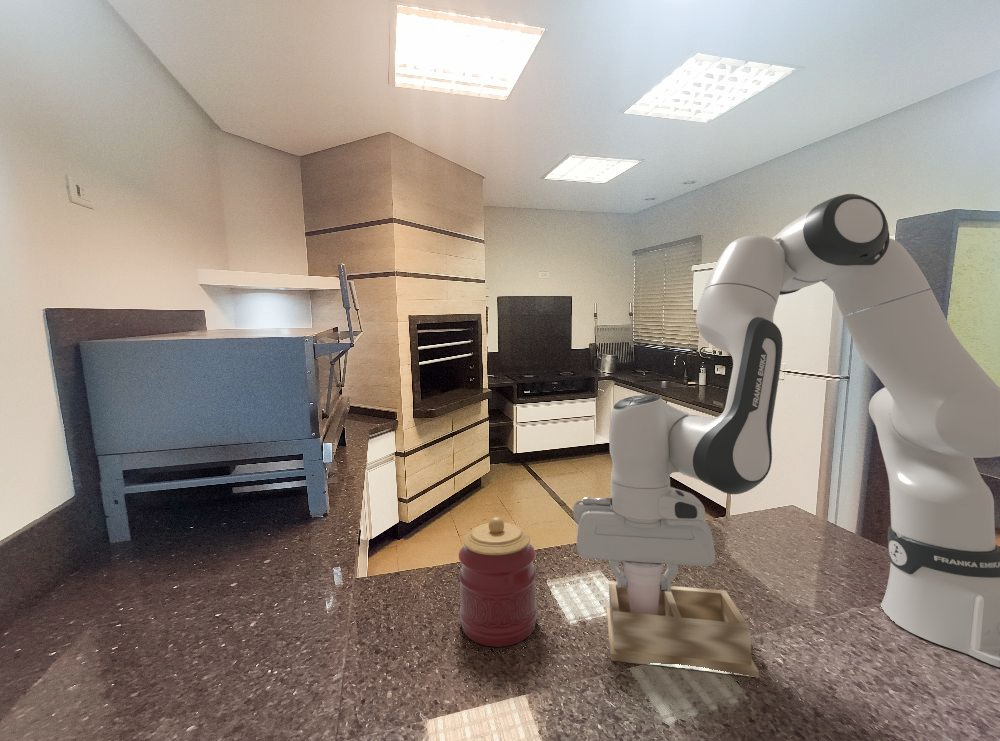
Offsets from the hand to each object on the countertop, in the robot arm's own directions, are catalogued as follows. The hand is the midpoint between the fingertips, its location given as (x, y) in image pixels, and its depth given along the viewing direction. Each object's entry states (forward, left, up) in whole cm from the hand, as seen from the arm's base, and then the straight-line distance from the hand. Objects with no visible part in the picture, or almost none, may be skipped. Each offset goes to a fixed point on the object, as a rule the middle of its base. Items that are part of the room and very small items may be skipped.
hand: (643, 587), depth 61 cm
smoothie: (0, 0, -5) cm, 5 cm away
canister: (+23, 0, -8) cm, 25 cm away
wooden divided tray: (-4, 0, -8) cm, 9 cm away
